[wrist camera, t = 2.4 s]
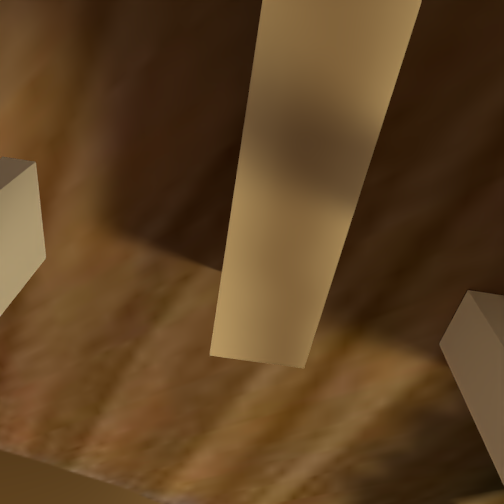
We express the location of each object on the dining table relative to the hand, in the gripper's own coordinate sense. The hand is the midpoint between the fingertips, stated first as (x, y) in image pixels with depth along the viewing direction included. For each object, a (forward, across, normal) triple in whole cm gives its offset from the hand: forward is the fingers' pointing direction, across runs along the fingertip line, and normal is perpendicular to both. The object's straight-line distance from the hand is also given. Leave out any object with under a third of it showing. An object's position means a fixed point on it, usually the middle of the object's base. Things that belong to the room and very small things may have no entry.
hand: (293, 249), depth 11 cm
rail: (+9, 0, 0) cm, 9 cm away
